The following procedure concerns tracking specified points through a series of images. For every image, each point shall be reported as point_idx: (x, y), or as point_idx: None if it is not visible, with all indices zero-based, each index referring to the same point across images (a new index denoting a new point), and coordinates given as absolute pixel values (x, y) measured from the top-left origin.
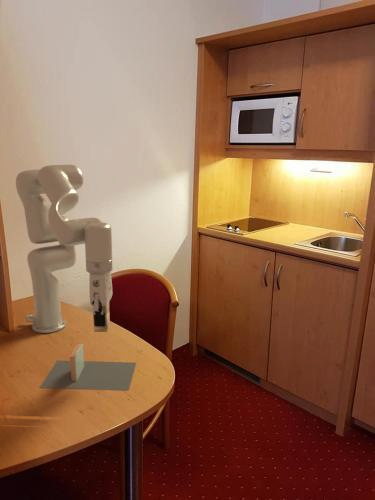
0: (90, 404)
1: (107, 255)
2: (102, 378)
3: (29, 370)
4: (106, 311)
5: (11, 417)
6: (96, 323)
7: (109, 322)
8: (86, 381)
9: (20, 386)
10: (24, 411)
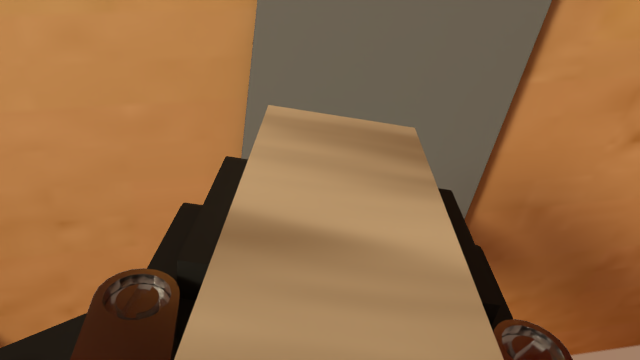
0: (603, 103)
1: None
2: (423, 60)
3: None
4: (480, 308)
5: (564, 342)
6: None
7: (279, 128)
8: (431, 137)
9: None
10: (546, 316)
